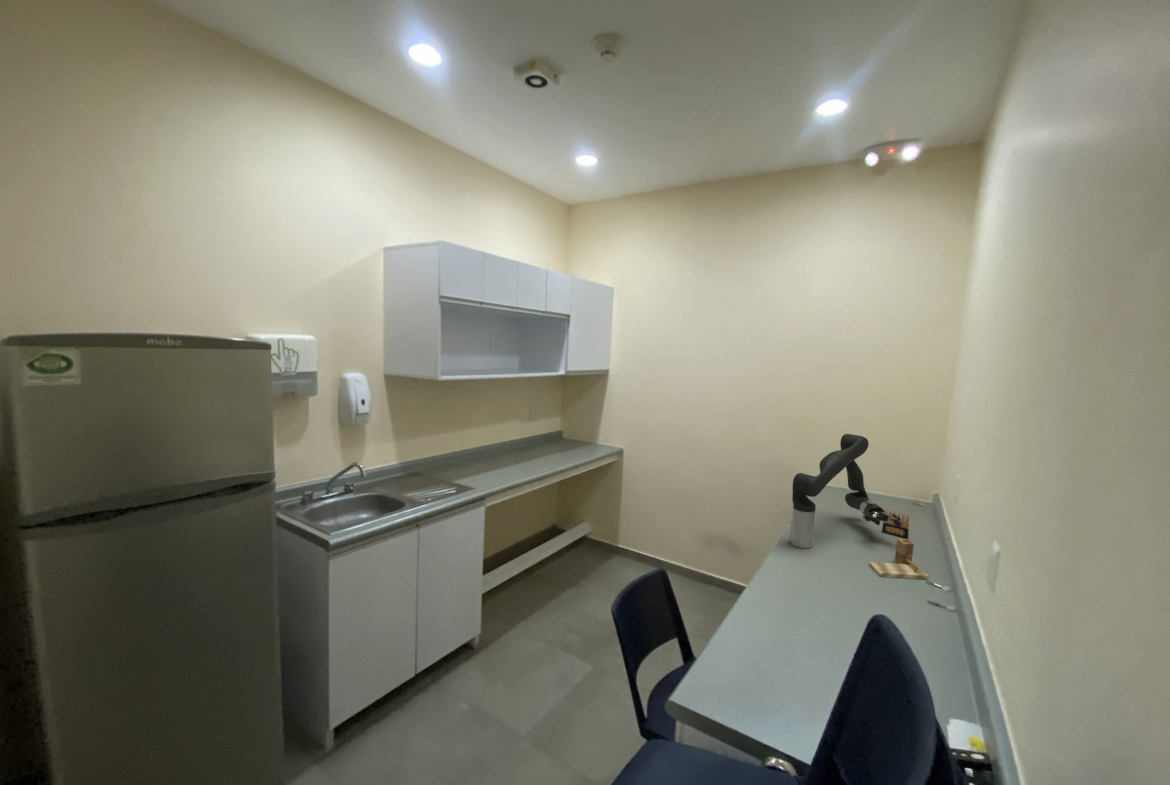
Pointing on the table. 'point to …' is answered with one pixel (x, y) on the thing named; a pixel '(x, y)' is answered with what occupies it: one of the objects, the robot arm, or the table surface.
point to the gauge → (904, 552)
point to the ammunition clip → (900, 531)
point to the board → (897, 570)
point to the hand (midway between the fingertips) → (889, 523)
